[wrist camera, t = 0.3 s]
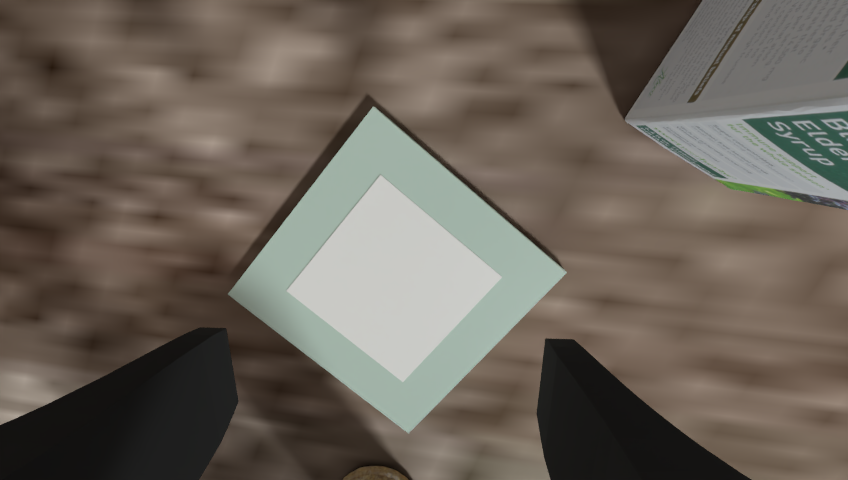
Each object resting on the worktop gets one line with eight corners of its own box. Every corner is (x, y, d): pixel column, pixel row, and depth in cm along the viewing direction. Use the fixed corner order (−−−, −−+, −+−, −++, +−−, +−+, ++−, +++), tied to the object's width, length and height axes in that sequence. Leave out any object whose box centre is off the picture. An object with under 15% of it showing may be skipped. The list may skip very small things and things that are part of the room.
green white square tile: (409, 425, 23) (408, 433, 22) (233, 289, 22) (227, 294, 21) (563, 268, 21) (567, 272, 20) (375, 107, 20) (373, 106, 19)
